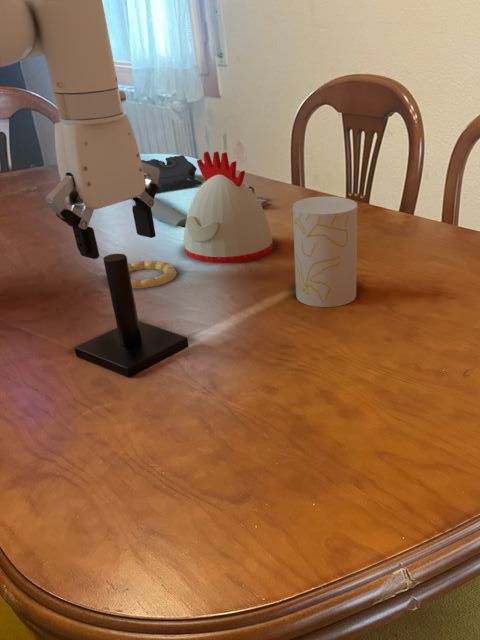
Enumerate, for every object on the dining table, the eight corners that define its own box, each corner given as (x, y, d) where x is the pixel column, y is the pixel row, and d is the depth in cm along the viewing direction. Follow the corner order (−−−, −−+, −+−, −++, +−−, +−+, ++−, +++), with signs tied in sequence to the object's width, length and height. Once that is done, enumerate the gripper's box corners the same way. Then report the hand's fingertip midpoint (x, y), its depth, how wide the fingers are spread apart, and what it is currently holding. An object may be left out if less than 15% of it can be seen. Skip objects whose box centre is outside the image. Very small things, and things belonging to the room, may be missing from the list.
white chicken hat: (221, 234, 112) (211, 140, 104) (289, 246, 106) (285, 147, 98) (167, 259, 102) (151, 157, 94) (239, 273, 96) (229, 166, 88)
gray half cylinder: (158, 203, 130) (157, 193, 129) (197, 226, 116) (196, 216, 115) (137, 206, 128) (136, 197, 127) (175, 231, 114) (173, 220, 113)
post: (76, 356, 75) (52, 261, 69) (136, 328, 81) (120, 238, 75) (129, 378, 71) (108, 278, 65) (188, 346, 77) (175, 252, 71)
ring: (97, 284, 94) (95, 273, 93) (146, 265, 100) (145, 255, 99) (141, 298, 89) (139, 287, 88) (190, 277, 95) (188, 267, 95)
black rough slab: (85, 185, 143) (81, 162, 140) (181, 172, 152) (178, 150, 150) (106, 201, 132) (101, 176, 129) (207, 185, 141) (204, 162, 139)
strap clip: (255, 202, 129) (254, 180, 127) (268, 204, 128) (267, 181, 125) (229, 213, 123) (226, 189, 121) (242, 215, 122) (240, 191, 119)
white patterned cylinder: (286, 302, 87) (282, 210, 80) (309, 281, 93) (307, 194, 87) (344, 310, 85) (344, 216, 78) (364, 288, 91) (366, 199, 84)
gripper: (125, 95, 87) (148, 225, 96) (7, 116, 75) (47, 260, 85) (164, 98, 83) (185, 232, 93) (47, 120, 72) (84, 271, 81)
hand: (119, 246), depth 89 cm, fingers open, 9 cm apart
